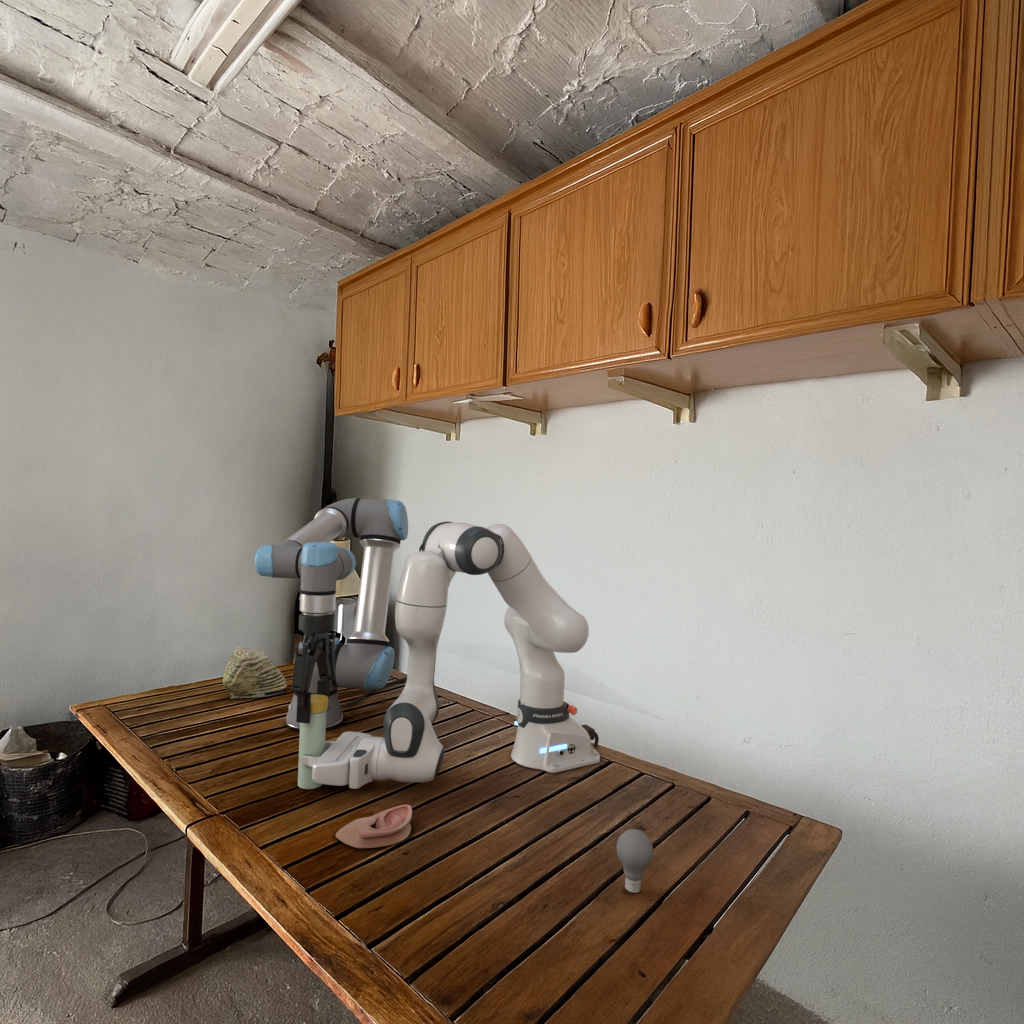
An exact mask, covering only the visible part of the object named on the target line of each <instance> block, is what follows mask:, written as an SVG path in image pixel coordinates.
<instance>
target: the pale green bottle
mask: <svg viewBox="0 0 1024 1024" xmlns="http://www.w3.org/2000/svg"><path fill="white" fill-rule="evenodd" d="M326 732H327V730H326V711H324V712H320V713H310V723H308V724H307V723H300V731H299V740H298V741H299V742H298V743H299V744H298V763H297V764H298V768H297V769H298V770H297V786H298V787H299V789H304V790H314V789H317V788H320V787H322V786H323V785H324V784H319V783H316V782H314V781H313V780H312V767H310V766H308V765H301V763H300V759H301V757H302V756H303V755H304V754H311V756H312V757H315V758H316V757H321V756H322V755H323V754H324V752H325V742H326V734H327V733H326Z"/></svg>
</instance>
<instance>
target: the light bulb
mask: <svg viewBox="0 0 1024 1024" xmlns="http://www.w3.org/2000/svg"><path fill="white" fill-rule="evenodd" d="M615 849H616V854H617V857H618V859H619V861H620V863H621V865H622V867H623V873H624V874H623V875H624V876H625V878H624V888H625V890H627V891H628V892H630V893H634V894H635V893H639V892H640V891H641V889H642V887H641V886H642V879H643V877H644V875H645V871H646V868H647V867H648V866H649V864H650V863H651V861H652V859H653V855H654V847H653V843H652V841H651V838H649V836H648V835H647V834H646V833H645V832H643V831H642V830H641V829H636V828H629V829H627V830H625V831H623V832H622V833H621V834H620V835H619V837H618V839H617V841H616V847H615Z"/></svg>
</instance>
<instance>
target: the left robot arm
mask: <svg viewBox="0 0 1024 1024" xmlns="http://www.w3.org/2000/svg"><path fill="white" fill-rule="evenodd" d="M408 535H409V518H408V512H407V508H406V506H405V504H404V502H402V501H401V500H396V499H389V498H384V499H383V498H380V499H379V498H359V497H351V498H346V499H341V500H338V501H336V502H333V503H331V504H328V505H326V506H324V507H323V508H321V509H320V510H319V511H317V512H316V514H315V516H314V517H313V519H312V520H311V521H310V522H308V523H307V524H306V525H304V526H303V527H301V528H300V529H298V530H297V531H296V532H294V533H293V534H291V535H290V536H289V537H287V538H286V539H284V540H283V541H281V543H279V544H277V545H276V544H264V545H261V546H260V547H258V548H257V551H256V553H255V557H254V568H255V571H256V573H257V574H258V575H259V576H261V577H265V578H266V577H268V578H272V579H274V578H275V579H277V578H278V579H280V578H281V579H297V580H298V579H299V580H300V589H299V594H300V595H299V598H298V600H299V611H300V612H301V613H299V616H298V631H300V632H301V633H303V634H304V635H303V640H302V642H300V643H296V644H295V646H294V653H295V654H294V659H293V661H294V664H293V671H292V672H293V673H292V680H291V688H290V692H291V693H293V695H292V696H293V697H292V699H291V702H290V703H289V705H288V711H287V713H286V715H285V726H286V728H287V729H289V730H291V731H294V732H295V731H296V732H300V723H307V724H308V723H310V704H311V695H312V694H320V695H325V696H327V697H328V700H329V703H328V709H327V710H326V731H329V730H332V729H335V728H337V727H339V726H340V725H342V723H343V722H344V714H343V709H345V708H349V707H351V706H353V705H355V704H357V703H359V702H360V701H362V700H363V699H365V698H366V697H367V696H369V695H370V694H372V693H374V692H377V691H378V690H382V689H383V688H386V687H389V686H392V685H395V684H398V683H402V682H406V681H407V676H405V677H402V678H399V679H395V680H392V681H389V680H390V677H391V675H392V672H393V668H394V663H395V649H394V648H393V647H392V646H390V640H389V638H388V637H387V636H386V625H387V617H388V611H389V610H388V609H389V601H390V592H391V584H392V583H391V582H392V573H393V565H394V557H395V552H396V551H397V550H398V549H399V548H401V541H405V540H407V539H408ZM341 538H358V539H359V544H360V545H361V546H362V547H363V556H362V563H361V572H360V580H359V588H358V597H357V605H356V610H355V611H356V612H355V620H354V627H353V631H352V633H351V634H350V635H348V636H347V638H346V643H345V644H341V641H340V639H339V638H338V637H336V633H332V631H334V630H335V624H336V623H335V622H336V614H335V613H334V612H335V611H336V605H337V604H336V597H337V596H336V595H337V582H338V581H342V580H345V579H346V578H348V577H349V576H350V575H352V574H353V572H354V571H355V569H356V566H357V561H356V556H355V554H354V553H353V552H352V551H351V550H350V549H348V548H346V547H338V545H337V544H336V543H334V541H337V540H339V539H341ZM332 541H333V542H332ZM330 632H331V633H330ZM338 688H340V689H355V690H356V689H357V690H365V691H366V692H365V693H363V694H362V695H361V696H359V697H358V698H356V699H354V700H352V701H350V702H347V703H344V704H341V702H340V699H339V695H338Z"/></svg>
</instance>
